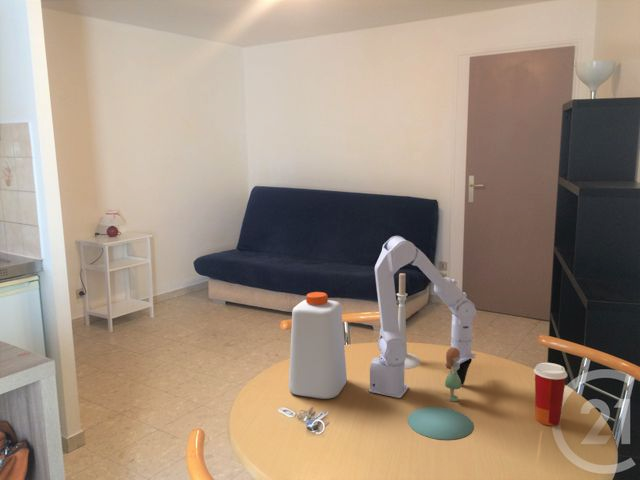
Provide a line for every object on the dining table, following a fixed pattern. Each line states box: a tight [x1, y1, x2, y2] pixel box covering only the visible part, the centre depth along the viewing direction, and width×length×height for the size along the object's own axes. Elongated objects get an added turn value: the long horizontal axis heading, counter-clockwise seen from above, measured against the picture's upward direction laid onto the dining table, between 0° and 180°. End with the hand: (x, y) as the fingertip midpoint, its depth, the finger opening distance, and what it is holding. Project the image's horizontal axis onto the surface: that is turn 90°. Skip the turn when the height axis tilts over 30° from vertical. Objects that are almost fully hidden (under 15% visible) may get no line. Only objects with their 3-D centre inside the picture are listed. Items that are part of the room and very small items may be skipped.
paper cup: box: [532, 362, 568, 427], centre depth 132 cm, size 8×8×14 cm
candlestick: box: [395, 272, 422, 370], centre depth 168 cm, size 13×13×30 cm
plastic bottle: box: [288, 291, 348, 400], centre depth 151 cm, size 15×15×28 cm
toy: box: [444, 347, 462, 402], centre depth 143 cm, size 13×4×15 cm, turn 168°
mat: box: [407, 406, 474, 441], centre depth 132 cm, size 16×16×1 cm
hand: (460, 383), depth 152 cm, fingers closed
